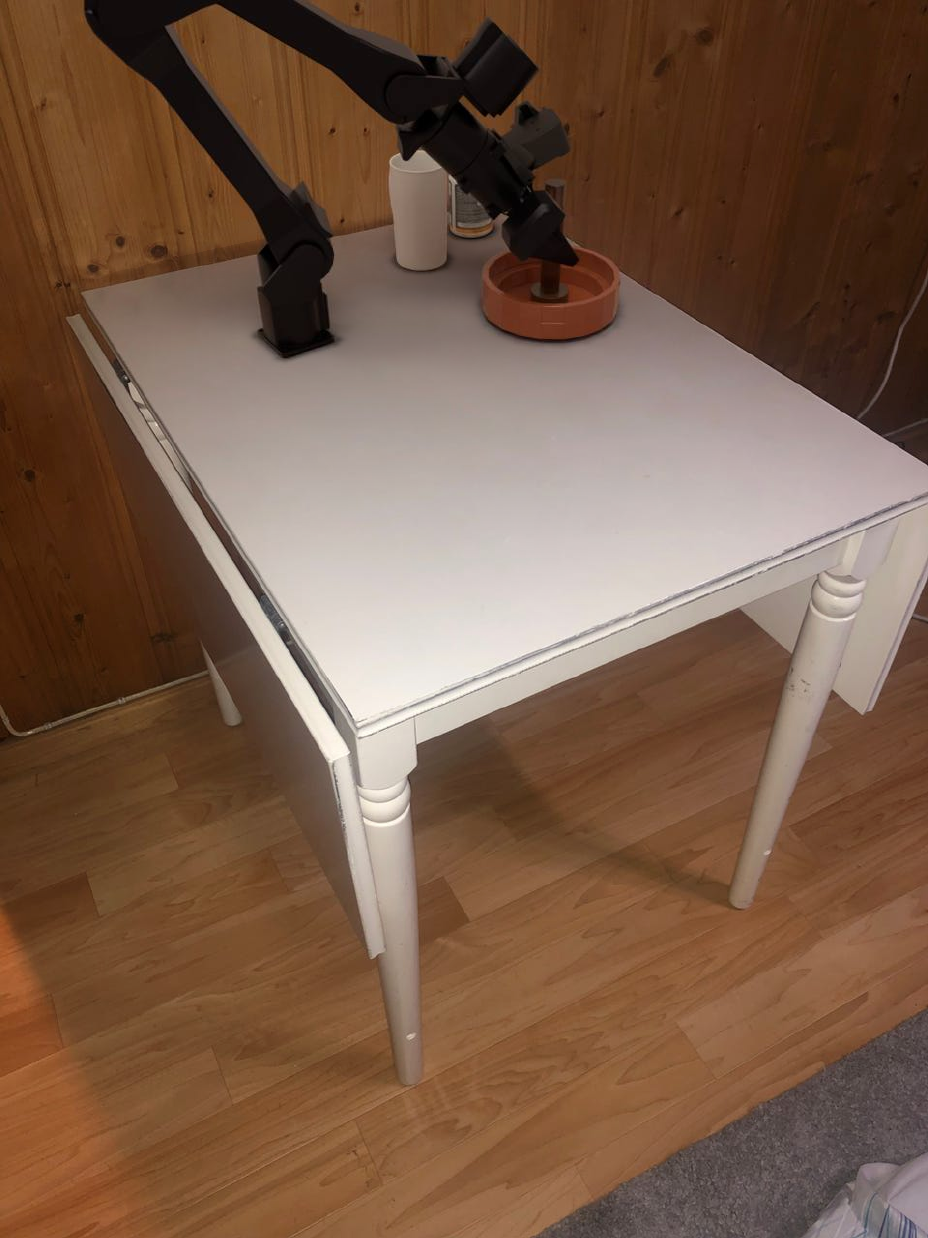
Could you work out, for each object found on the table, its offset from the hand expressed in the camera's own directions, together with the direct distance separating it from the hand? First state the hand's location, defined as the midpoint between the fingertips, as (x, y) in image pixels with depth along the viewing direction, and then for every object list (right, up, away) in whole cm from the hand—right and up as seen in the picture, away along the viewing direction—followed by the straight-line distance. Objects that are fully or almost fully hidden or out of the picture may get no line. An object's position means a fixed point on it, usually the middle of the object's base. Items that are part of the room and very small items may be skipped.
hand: (565, 246), depth 112 cm
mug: (-17, +4, +15) cm, 24 cm away
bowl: (-1, -6, +5) cm, 8 cm away
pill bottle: (-10, +9, +21) cm, 25 cm away
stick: (-1, -5, +5) cm, 7 cm away
